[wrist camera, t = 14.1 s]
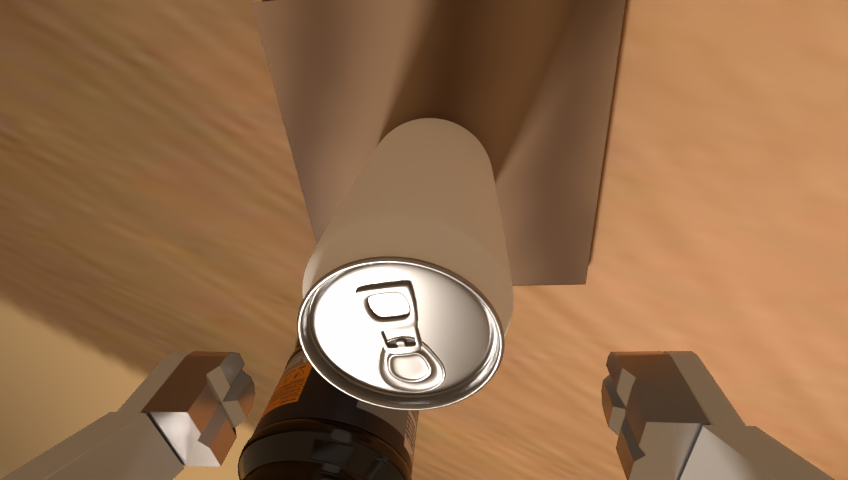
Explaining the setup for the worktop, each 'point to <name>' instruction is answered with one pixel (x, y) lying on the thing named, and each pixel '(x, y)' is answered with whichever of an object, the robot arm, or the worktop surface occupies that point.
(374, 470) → the supplement container
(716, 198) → the worktop surface
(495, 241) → the can
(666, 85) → the worktop surface
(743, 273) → the worktop surface
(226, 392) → the robot arm
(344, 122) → the walnut board
